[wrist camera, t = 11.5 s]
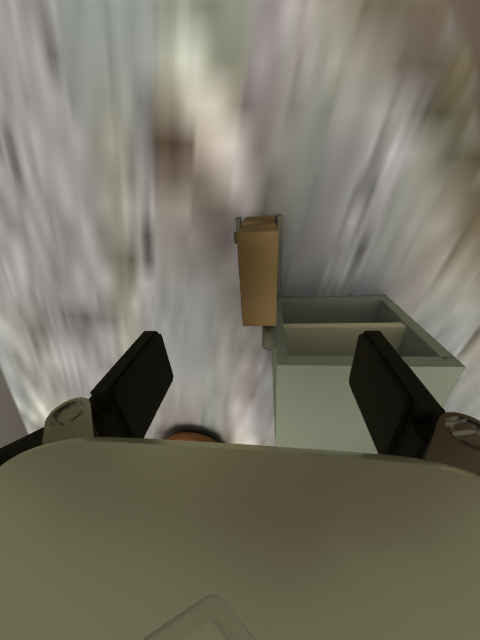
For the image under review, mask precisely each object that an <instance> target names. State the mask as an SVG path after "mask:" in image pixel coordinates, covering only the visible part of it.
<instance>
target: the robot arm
mask: <svg viewBox="0 0 480 640" xmlns="http://www.w3.org/2000/svg"><path fill="white" fill-rule="evenodd" d="M172 380H173V373H172V369H171V366H170V362H169V359H168V355H167V352H166V349H165V345H164V342H163V338H162V335H161V334H159V333H158V332H157V331H144V332H143V333H142V334H141V335H140V337H139V338H138V339H137V340H136V341H135V342H134V343H133V345H132V346H131V347H130V348H129V349H128V350H127V351H126V352H125V354H124V355H123V356H122V357H121V358H120V359H119V360H118V361H117V363H116V364H115V365H114V366H113V367H112V368H111V369H110V371H109V372H108V373H107V374H106V375H105V376H104V377H103V378H102V380H101V381H100V382H99V383H98V384H97V385H96V386H95V388H94V389H93V390H92V391H91V392H90V393H91V395H92V396H91V397H90V398H89V400H88V399H87V398H82V397H80V398H74V399H71V400H68V401H66V402H64V403H62V404H61V405H59V406H58V407H56V408H55V409H54V410H53V411H52V412H51V413H50V414H49V416H48V417H47V418H46V421H45V426H44V427H43V428H41V429H39V430H37V431H35V432H33V433H31V434H29V435H27V436H25V437H23V438H21V439H19V440H17V441H15V442H13V443H11V444H9V445H6V446H4V447H2V448H0V640H480V421H479V420H477V419H475V418H473V417H470V416H468V415H465V414H461V413H456V412H447V413H446V412H445V411H444V409H443V408H442V407H441V406H440V404H439V403H438V402H437V401H436V399H435V398H434V397H433V396H432V394H431V393H430V392H429V391H428V389H427V388H426V387H425V386H424V384H423V383H422V382H421V381H420V379H419V378H418V377H417V376H416V374H415V373H414V372H413V371H412V369H411V368H410V367H409V366H408V364H407V363H406V362H404V360H403V359H402V358H401V357H400V355H399V354H398V353H397V352H396V350H395V349H394V348H393V347H392V345H391V344H390V343H389V342H388V340H387V339H386V338H385V337H384V335H383V334H382V333H381V332H380V331H364V332H363V334H359V336H358V340H357V345H356V349H355V354H354V358H353V363H352V367H351V371H350V376H349V385H350V388H351V390H352V393H353V395H354V397H355V400H356V402H357V405H358V407H359V409H360V412H361V414H362V417H363V419H364V421H365V424H366V426H367V429H368V431H369V433H370V436H371V438H372V440H373V443H374V445H375V448H376V450H377V452H378V454H372V453H360V452H349V451H335V450H320V449H306V448H291V447H277V446H261V445H245V444H229V443H213V442H197V441H180V440H162V439H145V438H144V436H145V434H146V432H147V430H148V428H149V426H150V424H151V422H152V420H153V418H154V416H155V414H156V412H157V410H158V408H159V406H160V404H161V402H162V400H163V398H164V397H165V395H166V393H167V391H168V389H169V387H170V385H171V383H172Z"/></svg>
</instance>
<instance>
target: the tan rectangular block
mask: <svg viewBox="0 0 480 640" xmlns="http://www.w3.org/2000/svg"><path fill="white" fill-rule="evenodd" d="M234 241H235V243H237V247H238V261H239V276H240V290H241V305H242V320H243V326H276V308H277V255H278V229H277V226H276V223H275V219H274V216H262V217H246V219H245V220H244V222H243V224H242V225H241V227H240V229H239V230H238V232H234Z"/></svg>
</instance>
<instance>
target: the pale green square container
mask: <svg viewBox="0 0 480 640" xmlns="http://www.w3.org/2000/svg"><path fill="white" fill-rule="evenodd" d="M235 222H236V232H238V230H239V229H240V227H241V217H239V218H236V219H235ZM277 229H278V255H277V287H281V255H282V215H277ZM237 248H238V247H237ZM364 331H380V332H381V333H382V334H383V335H384V337H385V338H386V339H387V340H388V342H389V343H390V344H391V345H392V347H393V348H394V349H395V350H396V352H397V353H398V354H399V355H400V357H401V358H402V359H403V360H404V362H406V363H407V364H408V366H409V367H410V368H411V369H412V371H413V372H414V373H415V374H416V376H417V377H418V378H419V379H420V381H421V382H422V383H423V384H424V386H425V387H426V388H427V389H428V391H429V392H430V393H431V394H432V396H433V397H434V398H435V399H436V401H437V402H438V403H439V404H440V406H441V407H442V408H443V406H444V404H445V402H446V401H447V399H448V397H449V395H450V394H451V392H452V390H453V388H454V387H455V385H456V383H457V381H458V380H459V378H460V376H461V375H462V373H463V371H464V369H465V368H466V367H465V366H464V365H463V364H462V363H461V362H460V361H458V360H457V359H456V358H455V357H454V356H453V355H452V354H451V353H450V352H448V351H447V350H446V349H445V348H444V347H443V346H442V345H441V344H440V343H438V342H437V341H436V340H435V339H434V338H433V337H432V336H431V335H429V334H428V333H427V332H426V331H425V330H424V329H423V328H422V327H421V326H419V325H418V324H417V323H416V322H415V321H414V320H413V319H412V318H411V317H409V316H408V315H407V314H406V313H405V312H404V311H403V310H402V309H401V308H399V307H398V306H397V305H396V304H395V303H394V302H393V301H392V300H391V299H389V298H388V297H387V296H386V295H380V296H340V297H300V298H277V308H276V326H263V330H262V346H263V348H264V349H266V350H272V368H273V394H274V419H275V445H276V446H277V447H291V448H306V449H320V450H335V451H349V452H360V453H372V454H378V452H377V450H376V448H375V445H374V443H373V440H372V438H371V436H370V433H369V431H368V429H367V426H366V424H365V421H364V419H363V417H362V414H361V412H360V409H359V407H358V405H357V402H356V400H355V397H354V395H353V393H352V390H351V388H350V385H349V376H350V371H351V367H352V363H353V358H354V354H355V349H356V345H357V340H358V336H359V334H363V332H364Z"/></svg>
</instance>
